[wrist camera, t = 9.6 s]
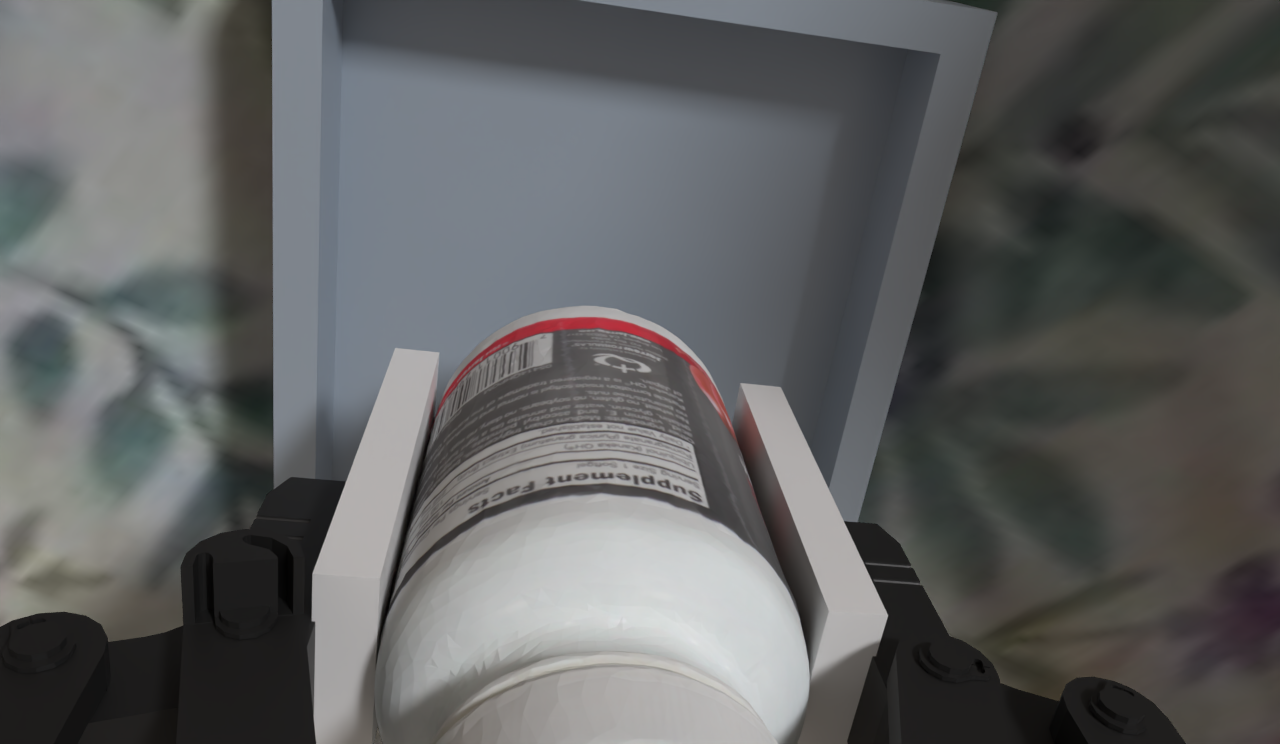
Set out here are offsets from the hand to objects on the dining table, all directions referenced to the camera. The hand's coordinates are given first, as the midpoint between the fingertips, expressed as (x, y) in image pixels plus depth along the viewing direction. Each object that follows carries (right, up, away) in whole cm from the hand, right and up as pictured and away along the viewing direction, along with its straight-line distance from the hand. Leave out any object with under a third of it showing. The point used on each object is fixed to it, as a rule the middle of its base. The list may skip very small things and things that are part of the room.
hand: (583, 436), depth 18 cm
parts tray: (0, +2, +4) cm, 4 cm away
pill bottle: (0, 0, 0) cm, 1 cm away
